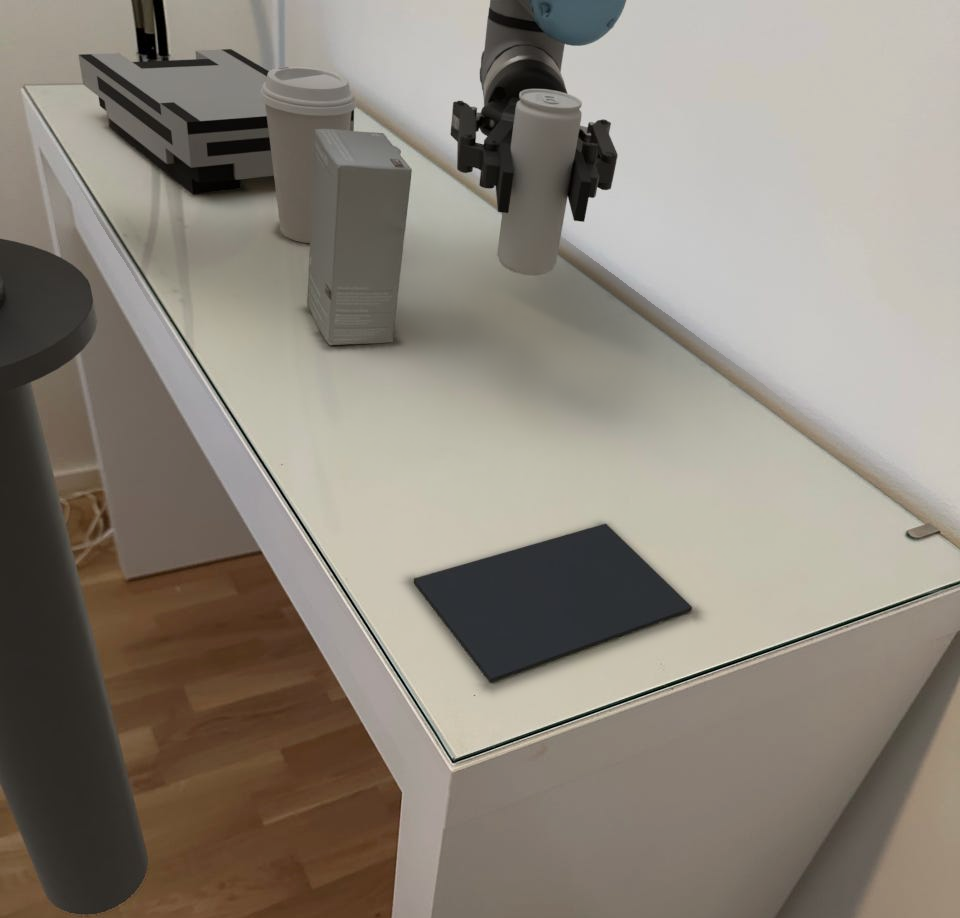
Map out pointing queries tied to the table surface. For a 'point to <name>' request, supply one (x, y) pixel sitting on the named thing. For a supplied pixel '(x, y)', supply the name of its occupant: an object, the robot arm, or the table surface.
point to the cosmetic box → (356, 235)
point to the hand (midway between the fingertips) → (544, 197)
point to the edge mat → (549, 600)
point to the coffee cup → (301, 135)
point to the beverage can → (539, 179)
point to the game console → (189, 114)
